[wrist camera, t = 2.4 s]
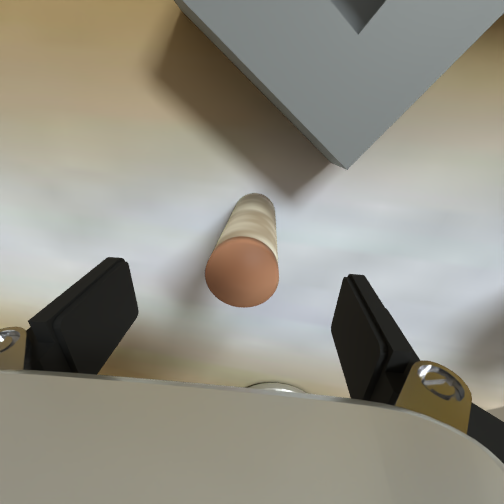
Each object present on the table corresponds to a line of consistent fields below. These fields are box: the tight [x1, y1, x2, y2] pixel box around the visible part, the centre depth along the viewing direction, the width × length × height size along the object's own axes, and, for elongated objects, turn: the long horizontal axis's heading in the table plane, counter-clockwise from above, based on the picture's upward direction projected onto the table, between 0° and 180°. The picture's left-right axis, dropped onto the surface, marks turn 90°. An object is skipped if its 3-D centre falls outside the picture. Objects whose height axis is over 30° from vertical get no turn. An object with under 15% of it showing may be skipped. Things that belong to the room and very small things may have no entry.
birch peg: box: [205, 193, 279, 307], centre depth 19 cm, size 4×4×12 cm
